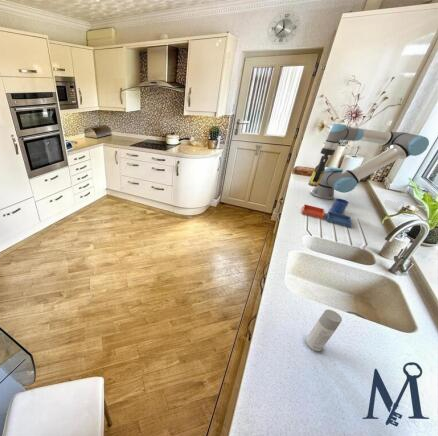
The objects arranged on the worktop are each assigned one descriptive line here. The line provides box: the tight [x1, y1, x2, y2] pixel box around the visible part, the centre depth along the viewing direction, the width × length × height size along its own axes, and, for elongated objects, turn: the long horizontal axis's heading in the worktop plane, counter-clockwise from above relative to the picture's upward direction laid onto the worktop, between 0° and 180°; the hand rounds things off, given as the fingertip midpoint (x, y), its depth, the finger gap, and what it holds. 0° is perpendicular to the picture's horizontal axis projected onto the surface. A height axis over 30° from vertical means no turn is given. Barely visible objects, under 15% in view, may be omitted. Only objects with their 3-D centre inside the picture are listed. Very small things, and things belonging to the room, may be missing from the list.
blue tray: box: [326, 210, 353, 228], centre depth 152 cm, size 12×12×2 cm
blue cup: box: [329, 198, 350, 215], centre depth 161 cm, size 8×8×9 cm
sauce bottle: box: [307, 159, 326, 188], centre depth 167 cm, size 7×6×20 cm
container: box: [305, 309, 343, 353], centre depth 74 cm, size 5×5×15 cm
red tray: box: [301, 203, 325, 220], centre depth 160 cm, size 12×12×2 cm
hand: (314, 180), depth 170 cm, fingers closed on sauce bottle, 6 cm apart
